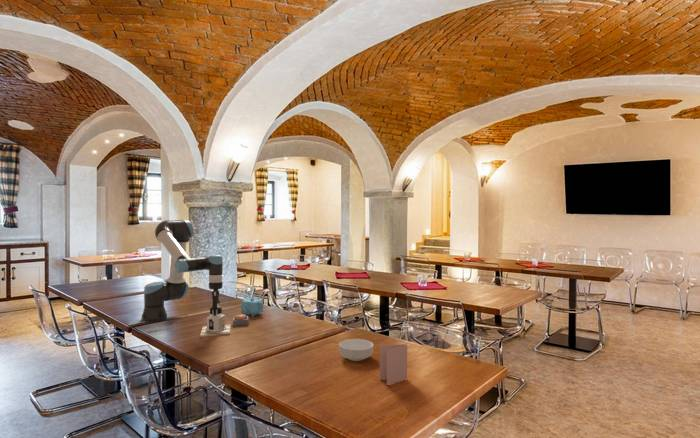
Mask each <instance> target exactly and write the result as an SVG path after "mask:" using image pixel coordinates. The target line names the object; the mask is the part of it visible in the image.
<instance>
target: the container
mask: <svg viewBox="0 0 700 438" xmlns="http://www.w3.org/2000/svg"><path fill="white" fill-rule="evenodd" d="M211 309H212V306H211V307H210V308H209V316H207V317H206V326H207V331H220V330H222V329H223V328H225V325H226V314H223V313H222V312H223V310H222V309H223V307H222V306H220V305H219V306H217V321H212V310H211Z"/></svg>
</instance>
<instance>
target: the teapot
mask: <svg viewBox="0 0 700 438" xmlns="http://www.w3.org/2000/svg"><path fill="white" fill-rule="evenodd" d="M240 304H241V314H243V315H246V316H248V317H249V315H251V317H254V318H255V317H256V316H257V315H260V314H261V313H263V311H264V301H263V299H261V296H260V297H258V298H254V297H250V298H247V299H244V300H241V303H240Z"/></svg>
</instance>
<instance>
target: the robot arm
mask: <svg viewBox="0 0 700 438" xmlns="http://www.w3.org/2000/svg"><path fill="white" fill-rule="evenodd" d="M194 231H195V229H194V226H193V223H192V222H191V221H190V220H188V219H177V220H176V219H175V220H166V219H165V220H164V221H161V222H159V223H158V224H157V226H156V227H155V229H154V236H155V238H156V240H157V241H158V243H160V244H162V246H164V249H166V251H167V252H168V253H169V255H170V265H169V266H170V267H169V277H168V278H166V283H165V282H164V281H153V282H150V283H147V284H146V285H145V286H144V288H143V289H144V291H143V300H144V301H143V303H144V304H143V305H144V308H143V311H142V314H141V317H140V318H141V320H140V321H141V322H143V321H145V322H144V323H155V321H157V322H161V321H164V320H167V319H168V313H167V310H166V308H165V302H171V301H175V300H181V299H184V298H186V297H187V295H188V293H189V283H188V281H186V279H185V277H184V273H189V272H197V271H198V272H199V271H204V270H205V271H208V282H209V283H208V289H209V290H212V291H211V295H212V296H211V300H212V306H211V307H212V309H211V310H212V321H217V306H219V307H220V305H219V304H220V303H221V301H220V299H219V297H220V290H221V289H223V278H224V277H225V276H224V275H223V269H224V268H223V265H224V264H223V263H224V261H223V256H222V254H210V255H209V256H207V255H203V256H200V257H194V258H193V257H192V258H191V257H189V255H188V254H187V252H186V251H187V244H188V243H190V238H192V237H194V233H195V232H194Z"/></svg>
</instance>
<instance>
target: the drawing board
mask: <svg viewBox="0 0 700 438" xmlns="http://www.w3.org/2000/svg"><path fill="white" fill-rule="evenodd" d="M231 326H232V325H231V323H229V324H225V328H223V329H222V330H220V331H207V325H203V326H202V328H201V330H200V331H201V332H200V335H199V337H200V338H204V337H216V336H230V335H231V328H232V327H231Z"/></svg>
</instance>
